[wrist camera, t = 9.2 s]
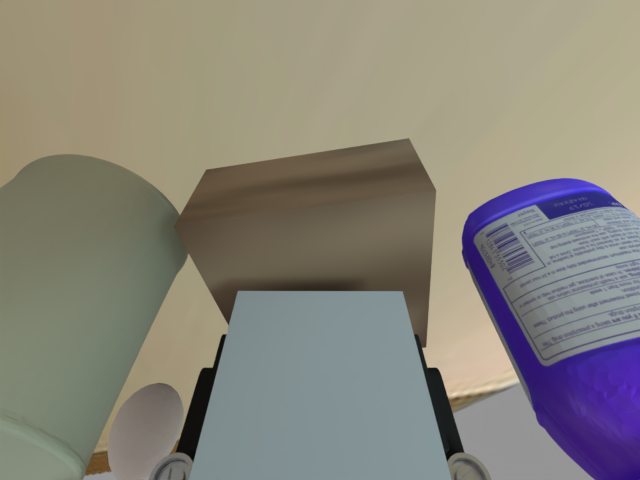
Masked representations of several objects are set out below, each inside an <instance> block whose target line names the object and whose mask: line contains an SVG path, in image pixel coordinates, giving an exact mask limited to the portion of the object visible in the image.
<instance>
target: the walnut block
mask: <svg viewBox="0 0 640 480" xmlns="http://www.w3.org/2000/svg"><path fill="white" fill-rule="evenodd" d="M435 202H436V189H435V187H434V185H433V183H432V181H431V179H430V177H429V175H428V173H427V172H426V170H425V168H424V166H423V164H422V162H421V160H420V158H419V156H418V154H417V152H416V151H415V149H414V147H413V145H412V143H411V141H410V139H409V138H407V139H401V140H394V141H388V142H381V143H375V144H368V145H362V146H355V147H349V148H343V149H336V150H330V151H323V152H317V153H310V154H304V155H297V156H291V157H285V158H278V159H272V160H265V161H259V162H252V163H246V164H239V165H233V166H227V167H220V168H214V169H207V170H206V171H205V172H204V174H203V176H202V178H201V179H200V181H199V183H198V185H197V186H196V188H195V190H194V192H193V193H192V195H191V197H190V199H189V201H188V202H187V204H186V206H185V208H184V209H183V211H182V213H181V215H180V216H179V218H178V220H177V222H176V223H175V225H174V228H175V230H176V231H177V233H178V235H179V237H180V239H181V241H182V242H183V244H184V246H185V248H186V250H187V251H188V253H189V255H190V257H191V259H192V260H193V262H194V264H195V266H196V268H197V269H198V271H199V273H200V275H201V277H202V279H203V280H204V282H205V284H206V286H207V288H208V289H209V291H210V293H211V295H212V297H213V298H214V300H215V302H216V304H217V306H218V307H219V309H220V311H221V313H222V315H223V317H224V318H225V320H226V322H227V324H228V326H229V323H230V319H231V315H232V312H233V308H234V304H235V300H236V296H237V292H238V291H403V295H404V298H405V302H406V306H407V310H408V314H409V318H410V321H411V325H412V329H413V333H414V334H417V335H418V336H419V338H420V342H421V346H422V348H426V344H427V328H428V312H429V297H430V281H431V265H432V249H433V233H434V218H435Z"/></svg>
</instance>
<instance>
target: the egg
mask: <svg viewBox="0 0 640 480" xmlns="http://www.w3.org/2000/svg"><path fill="white" fill-rule="evenodd" d="M183 418H184V409H183V404H182V401H181V398H180V396H179V394H178V392H177V391H176V390H175V389H174V388H173V387H171V386H170V385H168V384H164V383H155V384H150V385H147V386H145V387H143V388H141V389H140V390H138V391H137V392H135V393H134V394H132V395H131V396H130V397H129V398H128V399H127V400H126V401H125V402H124V404H123V405H122V406H121V408H120V409H119V411H118V413H117V415H116V417H115V420H114V422H113V424H112V426H111V430H110V434H109V438H108V461H109V466H110V468H111V471H112V473H113V474H114V475H115V477H116V478H117V479H118V480H142V479H144V478H146V477H147V476H149V475H150V474H151V472H152V470H153V469H154V467H155V466H156V465H157V463H158V462H160V461H161V460H162V459H163V458H164V457H166V456H168V455H169V454H170V452H171V451H172V450H173V448H174V446H175V444H176V442H177V440H178V437H179V434H180V432H181V429H182V425H183Z"/></svg>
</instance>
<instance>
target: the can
mask: <svg viewBox="0 0 640 480" xmlns="http://www.w3.org/2000/svg"><path fill="white" fill-rule="evenodd" d="M179 216H180V214H179V213H178V211H177V210H176V208H175V207H174V206H173V204H172V203H171V202H170V201H169V200H168V199H167V198H166V197H165V195H164V194H163V193H161V192H160V191H159V190H158V189H157V188H156V187H155V186H153V185H152V184H151V183H149V182H148V181H146V180H145V179H143V178H142V177H141V176H139V175H137V174H135V173H134V172H132V171H130V170H128V169H126V168H124V167H122V166H120V165H117V164H115V163H112V162H109V161H106V160H103V159H99V158H95V157H91V156H84V155H77V154H59V155H51V156H46V157H43V158H40V159H37V160H35V161H33V162H31V163H29V164H28V165H26V166H25V167H23V168H22V169H21V170H20V171H19V172H18V174H17V175H16V176H15V177H14V178H13V179H12V180H11V181H9V182H8V183H7V184H5V185H4V186H3V187H1V188H0V480H83V479H84V477H85V474H86V469H87V466H88V464H89V461H90V459H91V457H92V454H93V452H94V450H95V448H96V445H97V443H98V441H99V438H100V436H101V434H102V432H103V429H104V427H105V425H106V423H107V421H108V418H109V416H110V414H111V412H112V410H113V408H114V405H115V403H116V401H117V399H118V397H119V395H120V392H121V390H122V388H123V386H124V384H125V382H126V379H127V377H128V375H129V373H130V371H131V369H132V367H133V364H134V362H135V360H136V358H137V356H138V354H139V352H140V349H141V347H142V345H143V343H144V341H145V339H146V337H147V334H148V332H149V330H150V328H151V326H152V324H153V322H154V320H155V318H156V316H157V314H158V312H159V310H160V307H161V305H162V303H163V301H164V299H165V297H166V295H167V293H168V291H169V289H170V287H171V285H172V283H173V281H174V279H175V277H176V275H177V274H178V272H179V271H180V270H181V269H182V267H183V266H184V264H185V262H186V260H187V257H188V251H187V250H186V248H185V246H184V244H183V242H182V241H181V239H180V237H179V235H178V233H177V231H176V230H175V228H174V225H175V223H176V222H177V220H178V218H179Z"/></svg>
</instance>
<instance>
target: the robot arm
mask: <svg viewBox="0 0 640 480" xmlns="http://www.w3.org/2000/svg"><path fill="white" fill-rule="evenodd" d="M226 335H227V334H223V335H222V336H221V339H220V343H219V346H218V350H217V354H216V357H215V361H214V365H213V368H202V370H201V371H200V374H199V376H198V380H197V383H196V386H195V390H194V393H193V396H192V400H191V403H190V406H189V409H188V413H187V416H186V419H185V423H184V426H183V429H182V433H181V436H180V439H179V443H178V446H177V449H176V453H173V454H170V455H168V456H166V457H164V458H163V459H162V460H161V461H160V462H158V463H157V465H156V466H155V467H154V469H153V470H152V472H151V474H150V477H149V480H189V478H190V474H191V470H192V466H193V462H194V458H195V454H196V451H197V447H198V443H199V439H200V435H201V431H202V427H203V424H204V420H205V416H206V412H207V408H208V404H209V400H210V397H211V393H212V389H213V385H214V381H215V377H216V373H217V370H218V366H219V362H220V358H221V354H222V350H223V346H224V342H225V339H226ZM414 337H415V341H416V345H417V348H418V352H419V356H420V360H421V364H422V368H423V371H424V375H425V379H426V383H427V387H428V391H429V395H430V398H431V402H432V406H433V410H434V414H435V418H436V421H437V425H438V429H439V433H440V437H441V441H442V445H443V448H444V452H445V456H446V460H447V464H448V468H449V471H450V475H451V479H452V480H491V477H490V474H489V472H488V470H487V469H486V467H485V466H484V465H483V463H482V462H480V461H479V460H478V459H477V458H476V457H474V456H472V455H470V454H467V453H465V452H464V449H463V446H462V442H461V439H460V436H459V432H458V429H457V426H456V422H455V419H454V416H453V412H452V409H451V406H450V402H449V399H448V396H447V392H446V389H445V386H444V382H443V379H442V376H441V373H440V371H439V369H438V368H427V364H426V360H425V357H424V353H423V349H422V346H421V342H420V338H419V336H418V335H417V334H414Z"/></svg>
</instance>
